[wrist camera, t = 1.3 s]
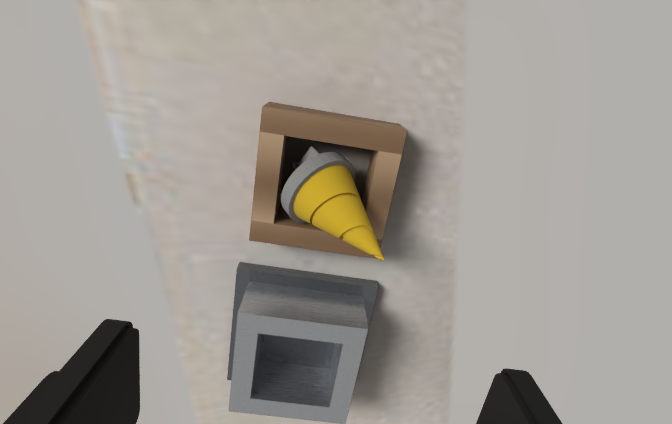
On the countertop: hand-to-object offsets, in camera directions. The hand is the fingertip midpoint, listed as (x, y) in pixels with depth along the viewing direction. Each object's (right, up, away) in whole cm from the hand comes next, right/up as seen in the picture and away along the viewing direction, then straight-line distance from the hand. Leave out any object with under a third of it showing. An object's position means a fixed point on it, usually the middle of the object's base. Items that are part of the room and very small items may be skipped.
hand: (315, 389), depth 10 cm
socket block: (0, +7, +18) cm, 20 cm away
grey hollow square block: (-2, -5, +23) cm, 24 cm away
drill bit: (0, +7, +19) cm, 20 cm away
